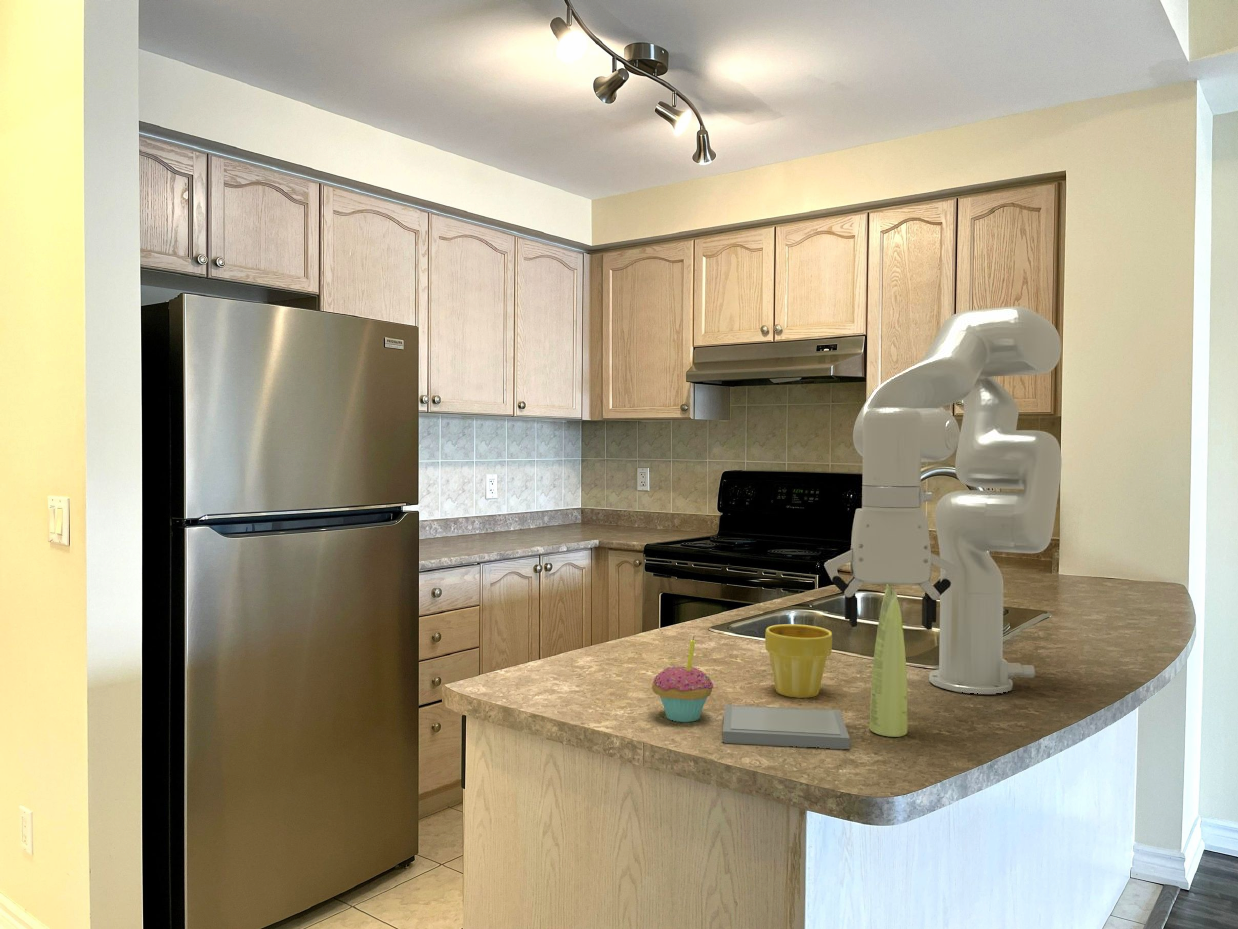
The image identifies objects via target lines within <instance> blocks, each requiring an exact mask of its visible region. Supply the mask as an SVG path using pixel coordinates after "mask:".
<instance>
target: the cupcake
mask: <svg viewBox="0 0 1238 929" xmlns="http://www.w3.org/2000/svg"><path fill="white" fill-rule="evenodd" d="M695 637H696V635H693V636H692V639H690V641H689V649H688V656H687V661H686V662H687V664H686V666H679V665H677V666H672V667H671V666H670V667H666V668H665V669H663V670H662V671H660V672H658V674H656V675H655V677H654V679H653V681H652V684H651V690H652V692H653V693H654V694H655V695H657V696H659V699H660V701H661V702H662V705H663V709H664V712H665V716H666V718H667V719H668V720H670V721H672V720H673V722H677V723H692V722H695V721H698V720H699V719H700V718H701V714H702V711H703V708H704V706H705V703H706V700H707V698H708V697H710V696H711V694H712V691H713V689H714V684H713V682H712V680H711V678H710V676H708V675H707V674H706V673H705V672H703V671H702V670H701V669H698V668H697V667H693V659H694V651H695V645H696V641H695Z"/></svg>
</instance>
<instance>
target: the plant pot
mask: <svg viewBox="0 0 1238 929" xmlns="http://www.w3.org/2000/svg"><path fill="white" fill-rule="evenodd" d="M764 635H765V636H764V637H765V638H764V645H765V646H764V648H765V650H766V652H767V653H769V654H768V655H769V659H770V664H771V671H772V677H773V683H774V688H775V691H776V692H777V693H778V694H780V696H785V697H790V698H798V699H801V698H802V699H804V698H805V699H806V698H813V697H814V698H815V697H816V696H818V695H819V693H820V689H821V684H822V679H823V676H824V671H825V668H826V662H827V659H828V657H829V656H831V654H832V652H833V648H832V647H833V633H832V631H831V630H829V629H826V628H824V627H820V626H815V625H807V624H792V623H787V624H785V623H784V624H774V625H771V626H768V627H767V628H766V629H765V634H764Z"/></svg>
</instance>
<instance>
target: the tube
mask: <svg viewBox="0 0 1238 929" xmlns="http://www.w3.org/2000/svg"><path fill="white" fill-rule="evenodd" d="M885 585H886V588H885V592H884V594H883V599H882V602H881V606H880V613H879V618H878V623H877V630H876V631H877V632H876V637H875V646H874V654H873V665H872V674H871V675H872V676H871V688H870V689H871V691H870V710H869V730H870V731H871V732H872V733H875V734H876V735H878V736H879V735H880V736H884V737H890V738H893V737H895V738H896V737H897V738H899V737H903V736H906V735H907V733H908V679H907V678H908V676H907V661H906V660H907V658H906V647H905V638H904V636H905V634H904V627H903V626H904V625H903V617H902V611H901V606H900V603H899V602H900V601H899V600H898V593H897V592H896V591H895V590H894V589H892V588H891V586H890V585H888V584H885Z"/></svg>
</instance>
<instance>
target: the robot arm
mask: <svg viewBox="0 0 1238 929" xmlns="http://www.w3.org/2000/svg"><path fill="white" fill-rule="evenodd" d="M1061 342H1062V341H1061V337H1060V335H1059V332H1058V330H1057V329H1056V326H1054V324H1053V323H1052V322H1050V321H1049V320H1048V319H1046V318H1045V317H1044V316H1042V315H1040V314H1039V313H1038V312H1036V311H1034V310H1032V309H1031V308H1030V309H1029V308H1027V307H1023V306H1018V305H1017V306H1002V307H993V308H982V309H972V310H965V311H960V312H957V313H955V314H953V315H951V316H949V317H948V318H946V320H945V321H944V322H943V324H942V325H941V327H940V329H939V331H938V332H937V333H936V335H935V337H934V339H933V341H932V342H931V345H930V346H929V348H928V350H927V352H925V355H924V357H923V358H922V360H921V361H920V362H918V363H916V364H913V365H911V366H910V367H908V368H906V369H904V370H903V371H901V372H899V373H898V374H896V375H894V376H892V377H890V378H889V379H887V380H885V381H884V382H883V383H881V384H880V385H879V386H878V387H876V388H875V389H873V391H872V392H871V393H870V394H869V396H868V397H867V399H866V401H865V403H864V404H863V406H862V407H861V409H860V411H859V413H858V415H857V417H856V420H855V422H854V426H853V433H852V441H853V446H854V448H855V450H856V452H857V453H858V454H859V455H860V456H861V457H862V483H861V484H862V486H861V488H862V490H861V491H862V492H861V494H862V495H861V496H862V497H861V508H856V509H855V513H854V518H853V523H852V529H851V540H850V541H851V543H850V544H851V545H850V550H848V551H846V552H844V553H842V554H840V555H837V556H836V557H834V558H832V559H829V560H827V561H826V562H824V564H823V566H824V568H825V570H826V573H827V575H828V576H829V579H830V580H831V582H832V583H833V585H834V586H835V587H836V588H837V589H839V591H840V592H841V593H842V594H843V595H844V619H845V620H848V623H849V625H850V627H851V628H856V627H858V597H857V596H856V593H857V592H858V590H859V589H861V587H862V586H863V585H864V584H867V585H886V584H888V585H889V586H890V585H891V586H892V585H893V586H895V585H896V586H919V587H920V589H921V590H923V592H924V595H923V597H922V598H921V625H922V626H923V627H924V629H926V630H928V631H931V630H932V629H933V623H937V603H938V601H937V600H939V648H938V650H939V654H938V655H939V658H938V661H939V663H938V665H939V666H938V669H935V670H932V671H930V672H929V673H928V677H929V678H928V681H929V682H930V684H932V685H933V686H936V687H938V688H941V689H945V690H948V691H952V692H957V693H962V692H963V694H970V693H974V694H973V695H997V694H996V693H1001V694H1004V693H1003V692H1006V693H1008V691H1009V692H1010V691H1012V690H1013V688H1014V687H1013V686H1014V684H1013V682H1014V681H1013V680H1011V679H1014V677H1021V678H1031V679H1032V678H1035V677H1036V671H1035V670H1036V669H1035V667H1034V665H1031V664H1028V665H1027V664H1022V663H1019V662H1009V661H1008V660H1006V659H1005V658H1004V657H1003V647H1004V646H1003V645H1004V644H1003V642H1004V641H1003V640H1004V639H1003V637H1004V636H1003V634H1004V632H1003V631H1004V578H1003V575H1002V572H1001V570H1000V567H999V566H998V565H997V563H996V562H995V560H994V559H993V558H992V557H991V554H989V552H1002V553H1003V552H1004V553H1017V554H1038V553H1041V552H1043V551H1045V550H1046V549H1047V548H1048V546H1050V543H1051V540H1052V537H1053V533H1054V527H1055V520H1056V512H1057V505H1058V498H1059V491H1060V482H1061V474H1062V466H1063V465H1062V463H1063V462H1062V460H1063V459H1062V451H1061V446H1060V443H1059V441H1058V440H1057V438H1056V437H1055V436H1054V435H1053V434H1051V433H1049V432H1046V431H1043V430H1032V429H1030V430H1024V429H1023V430H1022V429H1021V430H1020V429H1019V430H1017V428H1018V427H1017V426H1018V425H1017V424H1018V420H1019V419H1018V418H1019V413H1020V412H1019V407H1018V406H1019V405H1018V403H1017V401H1016V400H1015V399H1014V398H1013V396H1012V395H1011V393H1009V392H1008V390H1007V389H1006V388H1005V387H1003V385H1002V384H1000V382H998V380H997V379H996V378H995V377H1012V376H1028V375H1029V376H1031V375H1033V376H1034V375H1043V374H1044V375H1045V374H1048V373H1049V372H1051V371H1053V370H1054V369H1055V368H1056V367H1057V365H1058V363H1059V361H1060V358H1061V354H1062V343H1061ZM961 400H962V401H963V415H962V421H961V428H960V427H959V424H958V421H957V420H956V418H955V417H954V415H952V414H951V413H950V412H948V411H947V410H944V409H942V408H943V407H944V408H945V407H946V406H950V405H952V404H955V403H958V402H960V401H961ZM955 452H956V453H955ZM954 453H955V454H956V456H955V465H954V466H955V467H954V470H955V475H956V478H957V479H958V480H959V481H960V482H961V483H962V484H963V485H966V486H969V487H974V488H983V489H985V488H986V489H1003V490H1004V489H1009V490H1010V489H1011V490H1012V489H1013V490H1022V491H1020V492H1019V491H997V490H982V489H981V490H979V489H978V490H977V489H976V490H975V489H970V490H969V489H967V490H966V489H965V490H964V489H963V490H954V491H952V492H949V493H946V494H945V495H943V496H941V498H940V499H939V500H938V502H937V503H936V505H935V511H934V524H935V530H936V536H937V543H938V549H939V551H938V552H939V556H938V555H936V554H935V553H932V551H931V540H930V529H929V528H930V527H929V523H928V518H927V513H926V510H925V509H921V508H922V506H923V504H924V503H927V502H932V501H933V492H932V491H926V490H924V489H923V487H922V486H921V485H922V484H921V483H922V463H934V462H941V461H943V460H946V459H948V458H950V457H951V456H952V455H953V454H954ZM849 563H850V564H849ZM847 564H849V565H850V566H849V568H850V569H849V571H850V574H851V578H849V580H847V582H845V580H844V579H843V578H842V577H841V575H840V573H839V572H838V569H839V568H840V567H842V566H845V565H847ZM932 564H933V565H934V566H936V567H938V568H939V569H940V571H939V572H940V577H939V579H938V580H937V581H936V582H935V583H934V584H932V583H931V581H930V580H931V577H932ZM977 693H978V694H977Z"/></svg>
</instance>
